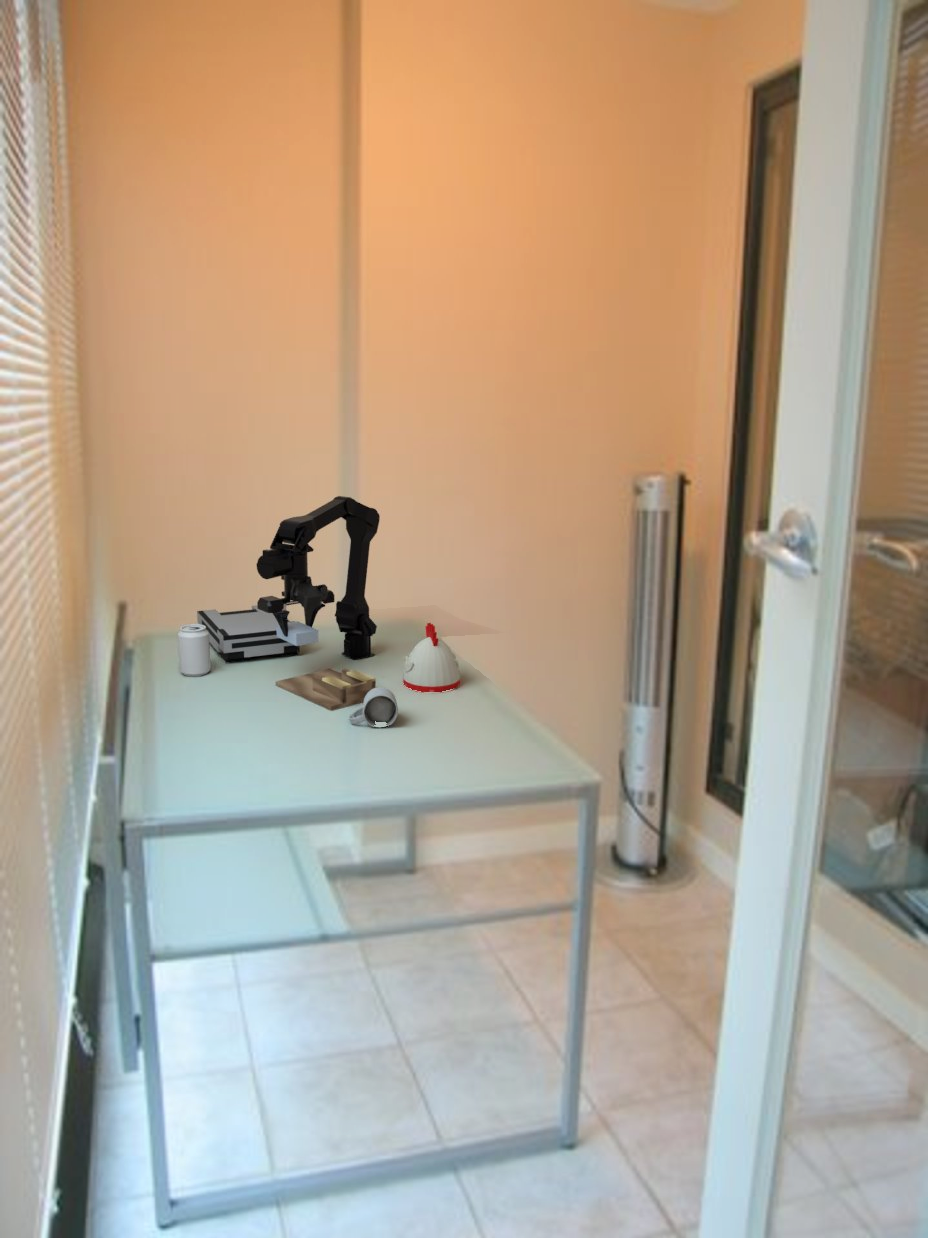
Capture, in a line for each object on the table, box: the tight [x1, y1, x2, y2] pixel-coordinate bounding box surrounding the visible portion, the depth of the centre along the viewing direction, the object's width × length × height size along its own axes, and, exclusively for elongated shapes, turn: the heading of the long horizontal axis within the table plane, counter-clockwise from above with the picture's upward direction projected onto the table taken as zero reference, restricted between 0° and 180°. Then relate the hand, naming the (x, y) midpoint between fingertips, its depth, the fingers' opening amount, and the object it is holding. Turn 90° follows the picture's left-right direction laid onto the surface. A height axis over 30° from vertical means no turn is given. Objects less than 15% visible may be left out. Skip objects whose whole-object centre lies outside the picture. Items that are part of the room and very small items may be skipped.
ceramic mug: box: [348, 686, 399, 728], centre depth 230 cm, size 11×8×8 cm
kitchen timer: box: [402, 622, 461, 693], centre depth 255 cm, size 14×14×15 cm
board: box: [275, 668, 377, 712], centre depth 250 cm, size 16×23×5 cm
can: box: [177, 623, 212, 677], centre depth 261 cm, size 8×8×12 cm
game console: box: [196, 604, 301, 664], centre depth 285 cm, size 21×32×8 cm, turn 26°
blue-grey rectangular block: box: [276, 621, 319, 646], centre depth 257 cm, size 6×10×3 cm, turn 38°
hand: (297, 634), depth 257 cm, fingers closed on blue-grey rectangular block, 6 cm apart
